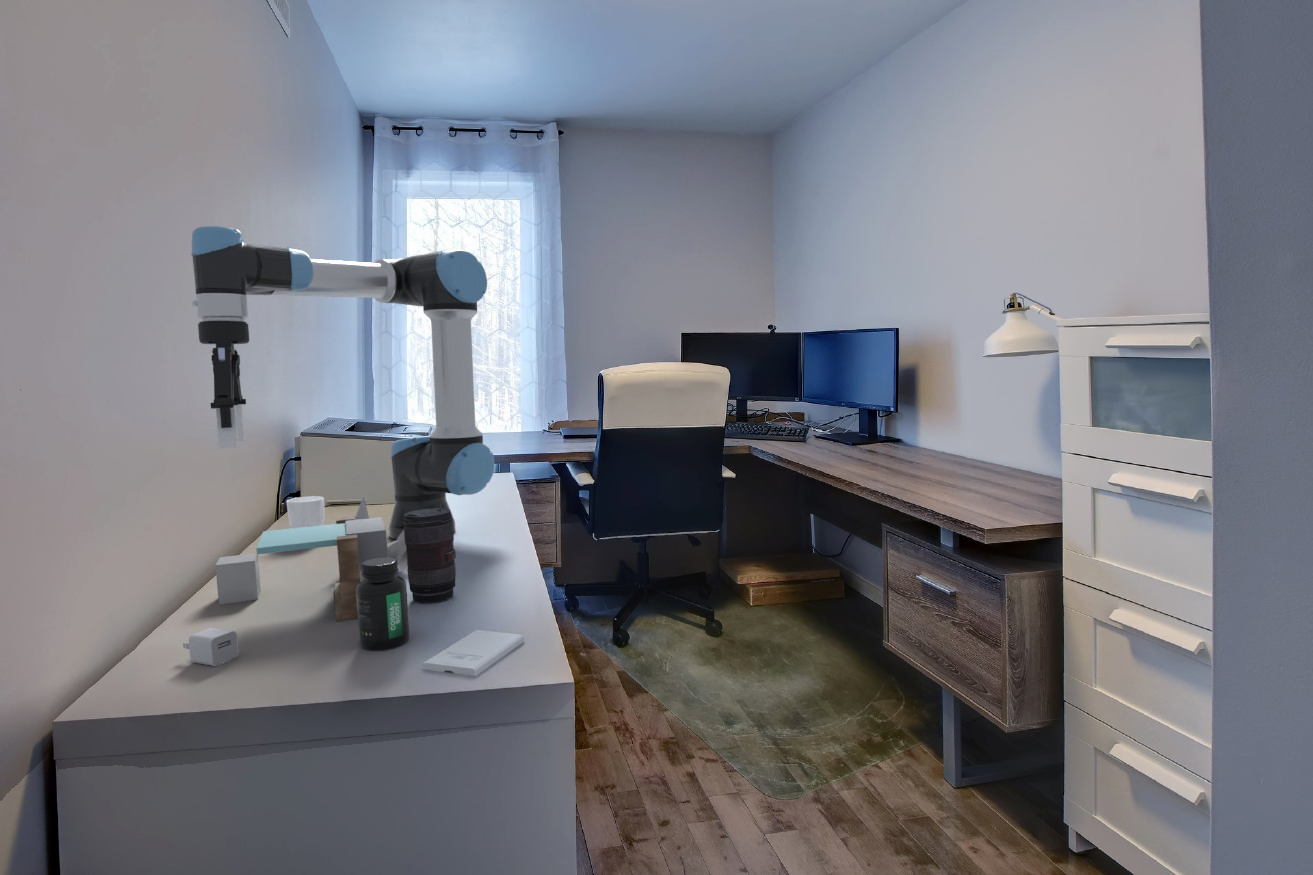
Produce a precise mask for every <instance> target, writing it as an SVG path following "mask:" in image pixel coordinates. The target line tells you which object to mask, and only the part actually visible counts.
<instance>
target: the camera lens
mask: <svg viewBox="0 0 1313 875" xmlns="http://www.w3.org/2000/svg"><path fill="white" fill-rule="evenodd" d="M451 513H452V511H451V508H450V509H446V508H432V509H422V510H416V511H412V512H408V513H406V514H405V515H404V516H405V518H404V537H405V545H406V561H407V564H406V565H407V580H408V586H409V591H410V592H411V594H412V600H413V601H414V602H415V603H419V604H436V603H442V602H445V601H447V600H450V599H451V598H453V596H454V588H455V587H456V578H457V571H456V568H457V567H456V562H455V560H456V558H457V557H456V554H457V552H456V550H457V549H456V548H454V540H455V538H454V537H455V534H454V533H455V531H454V528H453V518H454V517H453V518H452V515H453V514H452V515H451Z"/></svg>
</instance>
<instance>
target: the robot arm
mask: <svg viewBox="0 0 1313 875" xmlns="http://www.w3.org/2000/svg"><path fill="white" fill-rule="evenodd" d="M190 254H191V258H192V264H193V266H192V267H193V275H194V285H195V295H196V296H195V298H196V299H197V300H192V303H191V304H192V306H193V307H197V309H196V311H197V312H196V314H197V317H198V318H199V319H201V320H202V321H199V322H198V324H197V327H198V328H197V330H198V341H199V343H200V344H202V345H215V347H213V348H212V349H211V353H212V354H211V363H212V373H213V389H214V390H213V394H214V395H213V397H214V399H213V402H210V409H211V410H212V409H213V410H215V412H216V414H215V415H216V425H217V426H216V427H217V438H218V449H231V448H232V449H233V448H239V442H245V439H246V438H245V428H244V427H245V426H244V414H243V405H247V399H246V398H244V397H243V395H242V389H241V380H240V376H241V369H240V364H241V357H240V354H238V353H239V352H238V351H237V349H235V346H234V345H244V344H248V343H249V342H250V332H249V330H250V329H249V324H248V322H247V321H245V320H247V319H248V318H249V313H248V311H249V310H248V298H247V297H248V296H249V295H250V296H251V295H252V296H290V297H291V296H295V297H296V296H297V297H325V298H326V297H327V298H328V297H329V298H360V299H363V298H366V299H374V300H376V302H378V303H382V304H383V303H385V304H399V305H404V306H405V305H406V306H413V307H422V308H423V314H424V315H425V316H426V317H428V319H429V320H430V325H431V345H432V346H431V347H432V349H431V350H432V362H433V363H432V366H433V385H434V386H433V388H434V404H435V405H434V409H435V429H434V430H433V431H432V432H431V433H430V435H426V436H425V435H424V436H417V437H411V438H404V439H397V440H395V441H394V442H393V443H392V444H391V456H390V458H391V465H392V476H393V477H392V479H393V480H392V481H393V491H394V492H393V493H394V506H393V509H392V514H391V518H390V521H389V525H388V534H389V535H388V536H389V538H390V539H394V540H397V538H398V536H399V535H400V534H401V533H402V531H403V530H404V518H405V516H404V515H405V514H406V513H408V512H412V511H416V510H422V509H432V508H446V509H450V510H451V508H450V506H449V504H448V501H447V497H446V496H447V494H452V495H456V496H462V495H463V496H464V495H465V496H466V495H468V496H469V495H475V494H478V493H479V492H481V491H482V490H484V489H485V488H486V487H487V485H488V484H489V483H490V482H491V480H492V478H493V476H494V472H495V465H496V464H495V457H494V454H493V452H492V451H491V449H490V448H489V447H488V446H487V445H485V444H484V441H483V440H484V439H483V438H484V437H483V432H482V431H481V430H480V429H479V428H477V426H476V408H475V407H476V406H475V390H474V388H475V385H474V364H473V363H474V360H473V342H472V338H473V337H472V320H473V318H474V317H475V316H476V315H477V314H478V302H479V301H480V300H481V299H483V298H484V295H485V294H486V292H487V288H488V279H487V278H488V277H487V274H486V270H485V268H484V266H483V264H482V263H481V261H479V260H478V258H477V256H475V255H474V254H473V253H472V252H470V251H468V250H465V249H457V248H456V249H444V250H440V251H435V252H429V253H424V254H421V253H420V254H416V255H412V256H406V257H400V258H393V259H387V258H386V259H385V258H379V259H377V260H375V261H374V262H373V263H372V262H360V261H349V260H348V261H347V260H346V261H345V260H330V259H315V258H311V257H310V255H309V254H308V253H307V252H305V251H303V250H299V249H294V248H290V247H288V246H287V247H279V246H269V245H262V244H261V245H260V244H251V243H248V242H244V238H243V236H242V232H241V231H240V230H238V229H237V228H232V227H228V226H221V225H220V226H216V225H215V226H214V225H213V226H212V225H208V226H207V225H205V226H199V227H196V228H195V229H194V230H193V231H192V234H191V253H190ZM247 295H248V296H247ZM451 515H452V518H453V528H454V532H455V531H456V521H455V518H454V515H453V513H452V512H451Z"/></svg>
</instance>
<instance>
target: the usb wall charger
mask: <svg viewBox="0 0 1313 875" xmlns="http://www.w3.org/2000/svg"><path fill="white" fill-rule="evenodd" d="M238 642H239V640H238V634H237V631H235V630H231V629H230V630H229V629H222V628H216V627H209V628H206V629H203V630H201V631H197V632H195V633H193V634H191V635H190V636H189V638H188V643H187V642H186V643H185V642H183V643H182V646H183V649H185V650H186V649H187V650H189V658H190V659H189V660H190V662H191V663H195V664H199V665H200V664H201V665H206V666H211V667H218V666H220V664H221V665H223V664H224V663H223V662H226V663H228V662H229V661H228V660H230V661H232V660H231V659H232V658H235V659H237V658H238V656H239V653H240V652H239V643H238ZM236 657H237V658H236ZM227 661H228V662H227ZM222 663H223V664H222ZM217 665H218V666H217Z"/></svg>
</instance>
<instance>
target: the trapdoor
mask: <svg viewBox="0 0 1313 875" xmlns="http://www.w3.org/2000/svg"><path fill="white" fill-rule="evenodd" d="M383 520H384V519H383V518H382V516H379V517H372V518H370V517H369V519H359V520H349V521H345V522H346V523H340V524H336V523H333V524H332V523H331V524H324V525H321V526H311V527H301V528H291V529H290V528H285V529H284V528H283V529H274V530H264V531H262V533H261V536H260V538H259V541H258V544H257V545H256V548H255V549H256V553H257V555H258V556H259V555H265V554H273V553H275V554H276V553H283V552H291V551H299V550H300V551H301V550H308V549H317V548H318V549H319V548H327V547H337V537H338V536H347V535H357V540H358V554H359V563H363V562H365V561H367V560H371V559H376V558H388V553H387V542H388V541H387V540H388V539H387V529H386V527H385V526H386V525H385V523H384V521H383Z"/></svg>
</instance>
